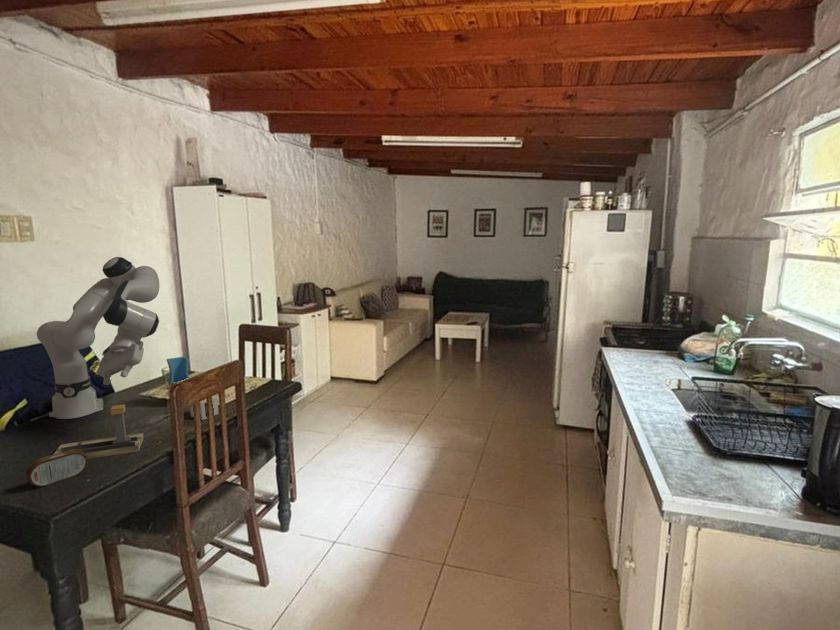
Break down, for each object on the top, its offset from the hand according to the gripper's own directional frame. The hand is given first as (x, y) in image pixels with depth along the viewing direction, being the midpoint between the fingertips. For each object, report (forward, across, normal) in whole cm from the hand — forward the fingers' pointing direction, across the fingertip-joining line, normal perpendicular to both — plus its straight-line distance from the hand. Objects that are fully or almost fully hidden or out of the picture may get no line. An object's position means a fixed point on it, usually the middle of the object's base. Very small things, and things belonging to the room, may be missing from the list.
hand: (114, 380), depth 173 cm
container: (+3, -7, -36) cm, 36 cm away
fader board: (+24, +4, -5) cm, 25 cm away
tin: (+39, -2, +8) cm, 39 cm away
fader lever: (+23, -4, -7) cm, 24 cm away
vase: (-9, +12, -38) cm, 40 cm away
